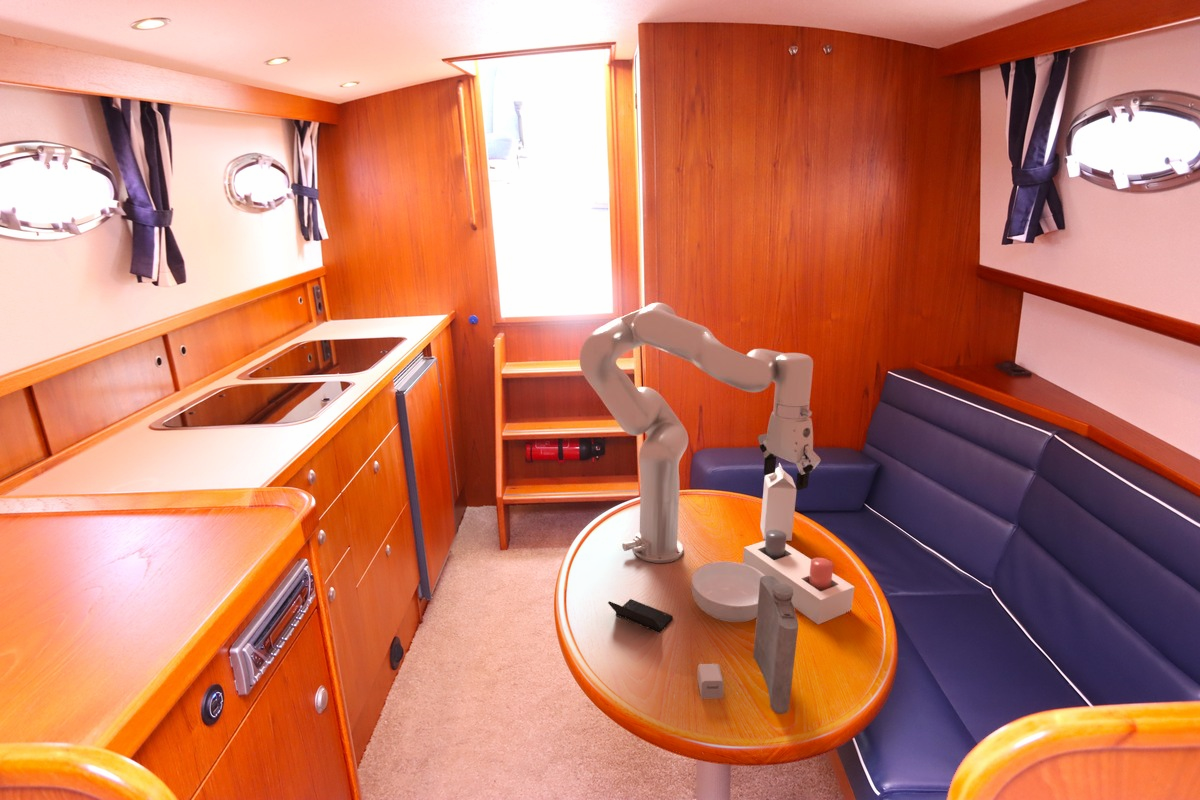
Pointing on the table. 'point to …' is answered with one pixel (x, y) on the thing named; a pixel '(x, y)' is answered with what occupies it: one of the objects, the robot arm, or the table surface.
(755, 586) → the cereal bowl
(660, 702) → the table surface
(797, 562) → the box
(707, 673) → the usb wall charger
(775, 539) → the grey rounded cylinder
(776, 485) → the milk carton
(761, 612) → the hip flask
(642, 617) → the handheld gaming console
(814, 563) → the red plunger
